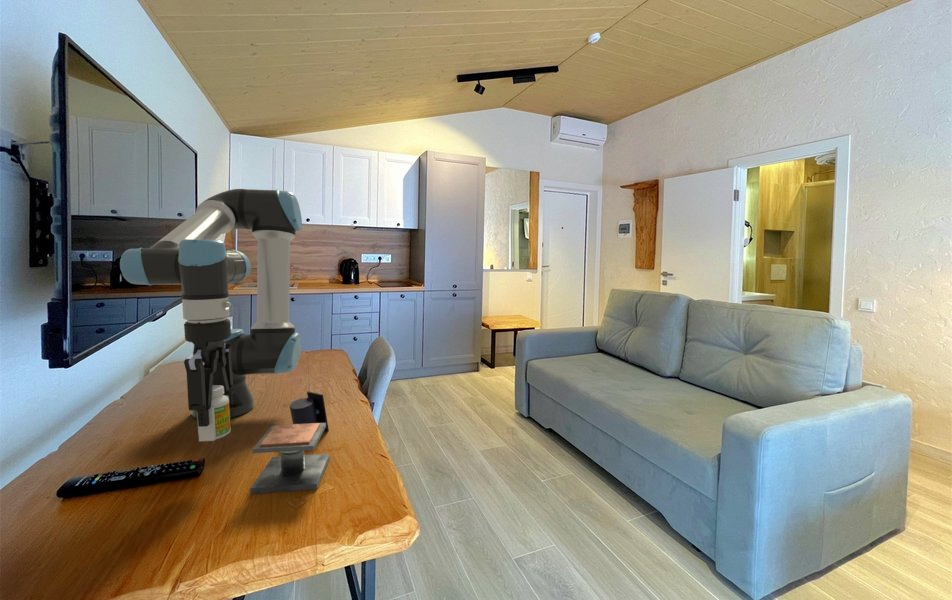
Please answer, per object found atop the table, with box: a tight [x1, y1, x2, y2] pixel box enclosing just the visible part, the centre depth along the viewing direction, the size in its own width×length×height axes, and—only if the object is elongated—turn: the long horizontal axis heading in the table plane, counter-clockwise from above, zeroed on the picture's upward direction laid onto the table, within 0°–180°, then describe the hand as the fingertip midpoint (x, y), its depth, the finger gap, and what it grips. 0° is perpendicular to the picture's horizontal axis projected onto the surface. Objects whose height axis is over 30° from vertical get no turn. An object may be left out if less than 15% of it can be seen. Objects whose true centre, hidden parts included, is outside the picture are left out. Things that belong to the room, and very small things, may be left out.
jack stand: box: [249, 423, 331, 495], centre depth 82 cm, size 12×12×9 cm
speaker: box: [289, 390, 330, 432], centre depth 102 cm, size 8×6×10 cm
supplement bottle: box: [211, 385, 232, 440], centre depth 80 cm, size 5×5×10 cm
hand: (215, 432), depth 81 cm, fingers closed on supplement bottle, 5 cm apart
